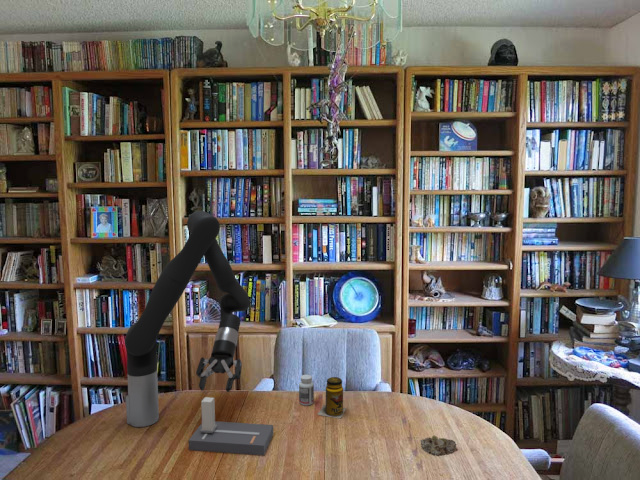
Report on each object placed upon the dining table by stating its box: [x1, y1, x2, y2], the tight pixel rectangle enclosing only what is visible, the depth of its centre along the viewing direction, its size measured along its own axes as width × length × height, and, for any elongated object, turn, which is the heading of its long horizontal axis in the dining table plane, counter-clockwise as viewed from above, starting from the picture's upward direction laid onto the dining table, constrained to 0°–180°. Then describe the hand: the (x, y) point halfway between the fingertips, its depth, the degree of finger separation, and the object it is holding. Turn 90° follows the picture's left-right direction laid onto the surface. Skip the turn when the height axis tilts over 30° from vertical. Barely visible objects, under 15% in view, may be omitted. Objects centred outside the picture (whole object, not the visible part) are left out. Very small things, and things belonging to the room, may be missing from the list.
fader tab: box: [200, 396, 217, 433], centre depth 143 cm, size 4×4×10 cm
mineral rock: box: [419, 435, 458, 456], centre depth 139 cm, size 11×4×8 cm
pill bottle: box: [298, 374, 315, 406], centre depth 169 cm, size 5×5×10 cm
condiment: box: [317, 376, 347, 419], centre depth 161 cm, size 7×8×12 cm
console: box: [188, 420, 274, 456], centre depth 143 cm, size 23×12×3 cm, turn 83°
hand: (214, 390), depth 148 cm, fingers open, 8 cm apart
